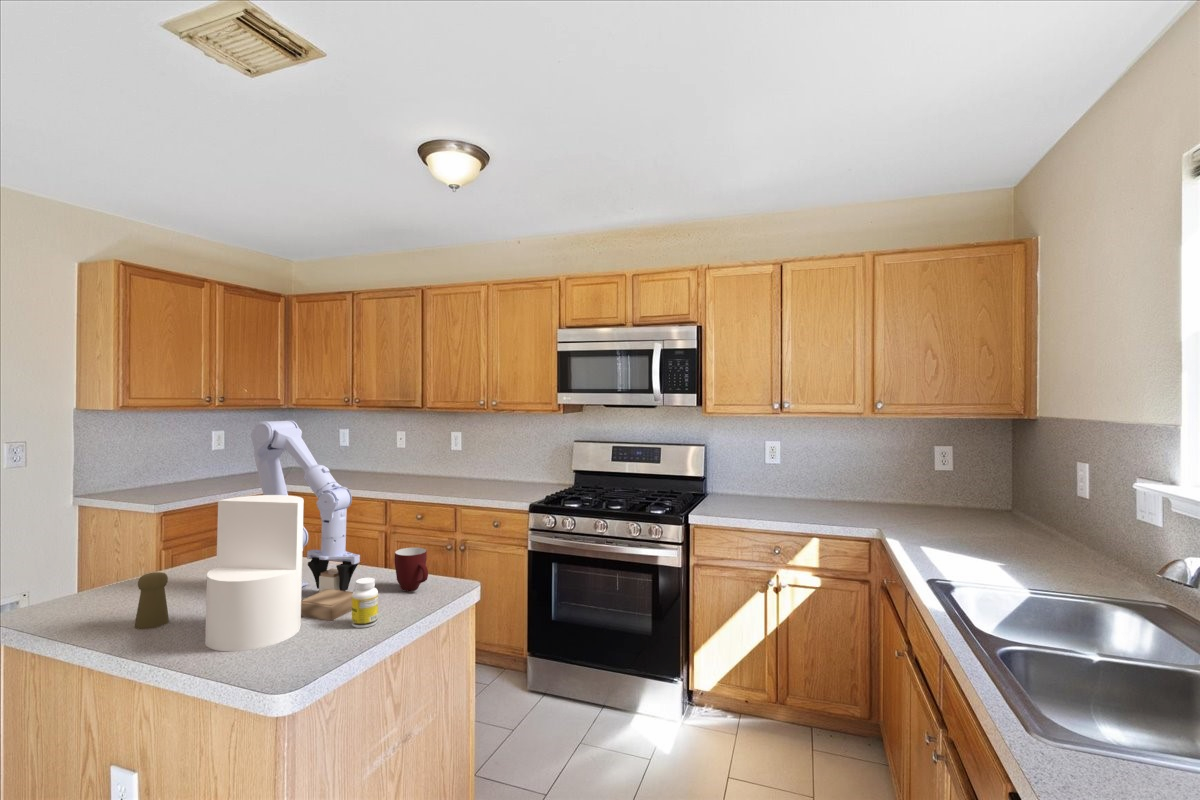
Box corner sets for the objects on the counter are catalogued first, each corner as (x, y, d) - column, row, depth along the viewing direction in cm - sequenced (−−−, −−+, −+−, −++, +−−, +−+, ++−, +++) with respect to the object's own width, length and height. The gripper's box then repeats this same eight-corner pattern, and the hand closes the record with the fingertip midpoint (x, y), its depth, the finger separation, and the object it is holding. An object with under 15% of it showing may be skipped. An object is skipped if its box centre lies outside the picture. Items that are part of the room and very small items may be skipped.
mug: (439, 588, 151) (440, 551, 151) (417, 597, 144) (418, 558, 144) (409, 582, 155) (410, 546, 155) (386, 590, 148) (387, 552, 148)
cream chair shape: (241, 616, 129) (244, 493, 129) (316, 619, 129) (319, 496, 129) (183, 649, 112) (187, 508, 112) (269, 653, 111) (272, 510, 111)
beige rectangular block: (318, 596, 143) (319, 572, 143) (331, 591, 147) (332, 568, 147) (333, 598, 142) (333, 574, 142) (345, 593, 146) (346, 569, 146)
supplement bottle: (351, 621, 128) (352, 577, 128) (377, 617, 130) (378, 575, 130) (351, 630, 123) (352, 585, 123) (378, 626, 125) (379, 582, 125)
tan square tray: (295, 615, 131) (295, 601, 131) (327, 600, 140) (327, 588, 140) (331, 620, 128) (331, 606, 128) (361, 605, 137) (361, 592, 137)
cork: (130, 631, 120) (131, 579, 120) (138, 621, 125) (139, 571, 125) (166, 626, 123) (167, 575, 123) (171, 616, 128) (173, 568, 128)
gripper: (298, 536, 143) (297, 590, 143) (346, 542, 139) (345, 597, 139) (319, 530, 149) (318, 582, 149) (365, 535, 146) (364, 588, 146)
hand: (332, 589), depth 145 cm, fingers open, 6 cm apart
